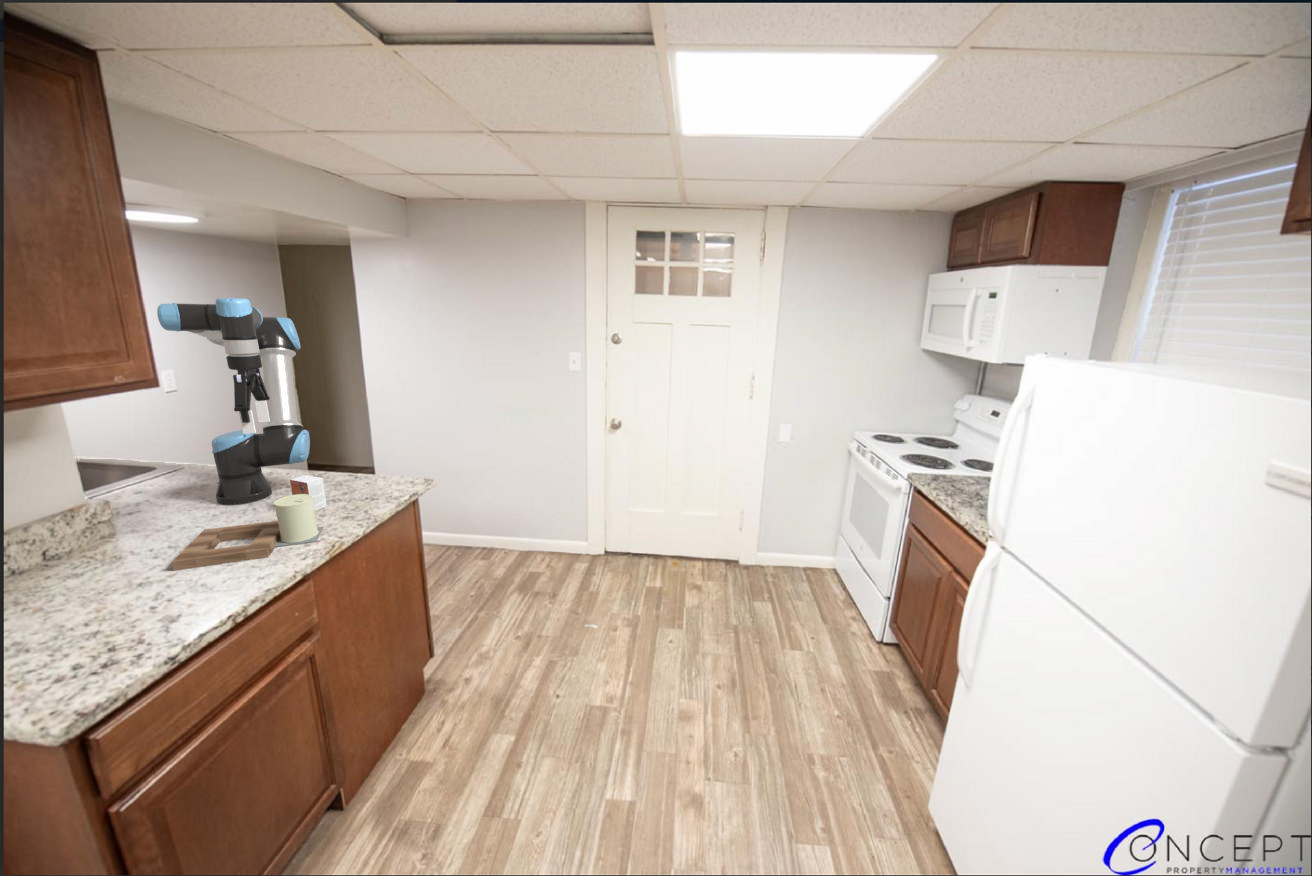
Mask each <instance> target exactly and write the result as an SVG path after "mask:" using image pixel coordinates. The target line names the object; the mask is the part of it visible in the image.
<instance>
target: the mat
mask: <svg viewBox="0 0 1312 876" xmlns="http://www.w3.org/2000/svg"><path fill="white" fill-rule="evenodd" d="M324 528H325V527H324V526H319V527H318V526H317V529H318V531H319V533H318V534H317V535H316V536H315V537H313V538H311V539H309V540H306V541H302V542H297V543H284V542H282V541H281V537H280V539H279V540H278V542H277V543H276V545H275V548H281V547H289V546H296V545H304V544H310V543H317V542H318V540H319V538H320V536H321V533H322V532H323V530H324Z"/></svg>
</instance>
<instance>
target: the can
mask: <svg viewBox="0 0 1312 876" xmlns="http://www.w3.org/2000/svg"><path fill="white" fill-rule="evenodd" d="M273 505H274V508H275V509H274V510H275V515H276V519H277V521H278V525H279V530H280V536H281V541H282V542H284V543H297V542H302V541H306V540H309V539H311V538H313V537H315V536H316V535H317V534H318V533H319V531H318V529H317V527H318V525H317V519H316V518H317V517H316V514H315V512H316V511H314V506H313V499H312V496H311V495H308V494H297V495H292V494H291V495H286V496H284V497H280V498H278V499H277V500H275V501H274V502H273Z"/></svg>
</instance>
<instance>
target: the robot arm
mask: <svg viewBox="0 0 1312 876" xmlns="http://www.w3.org/2000/svg"><path fill="white" fill-rule="evenodd" d="M156 312H157V319H158V322H159V325H160V327H162V328H163V330H165V331H170V332H171V331H172V332H189V333H191V334H195V335H199V336H200V337H204V338H206V340H208V341H210V342H211V343H212V344H215V345H218V346H221V347H224V351H225V354H226V355H227V356H226V362H227V367H228V369H229V370H232V371H233V370H235V371H237V374H233V376H232V378H233V387H234V388H233V389H234V394H233V395H234V408H233V410H234V412H238V414H239V419H240V423H241V429H240V430H235V431H231V432H226V433H223V434H220V435H218V436H216V437H214V438H213V439H212V440H211V447H212V448H211V449H212V452H211V453H212V455H213V459H214V462H215V463H214V464H215V469H216V470H217V471H216V472H217V476H218V483H217V488H216V493H215V498H216V503H217V504H219V505H223V506H234V505H235V506H236V505H242V504H243V505H244V504H249V503H250V504H251V503H254V502H257V501H261V500H263V499H266V498H268V497H269V496H271V495H272V494H273V489H272V486H271V484H270V482H269V481H268V480H267V478H266V477H265V475H264V474H263V470H262V468H263V467H265V468H266V467H273V466H274V467H275V466H281V465H282V466H283V465H293V464H299V463H300V464H301V463H304V462H306V461H307V459H308V458H309V455H310V449H311V448H310V446H311V445H310V444H311V439H310V432H309V430H307V429H304V425H303V424H301V423H300V422H299V421H298V413H297V412H298V411H297V401H296V393H295V392H296V391H295V384H294V374H293V373H294V371H293V364H292V363H293V362H292V361H293V360H292V359H293V358H294V357H296V356H297V355H296V354H297V351H298V350H300V349H301V348H302V347H301V343H300V337H299V335H298V332H297V329H296V327H295V324H294V322H293V320H292V319H291V318H289V317H283V316H282V317H280V316H275V317H274V316H263V314H262V312H261V311H260V310H259V309H258V308H257V307H255V306H253V305H252V304H251V301H250V300H249V299H248V298H242V297H241V298H240V297H239V298H238V297H217V298H216V299H215V303H209V304H208V303H206V304H205V303H202V304H201V303H176V302H172V303H171V302H170V303H160V304H159V305H158V307H157V310H156ZM261 368H262V374H263V377H262V376H261V375H262V374H261V372H260V369H261ZM252 396H253V397H254V400H255V401H254V406H255V410H256V416H257V420H258V423H266V424H265V425H264V426H263V427H262V433H257V431H256V425H255V421H254V415H253V410H252V409H251V400H252Z"/></svg>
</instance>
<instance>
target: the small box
mask: <svg viewBox="0 0 1312 876" xmlns="http://www.w3.org/2000/svg"><path fill="white" fill-rule="evenodd" d="M289 483H290V488H291V493H292V494H291V495H297V494H308V495H311V496H312V499H313V506H314V512H316V511H318V510H321V509H324V508H327V506H328V505H327V499H326V491H325V484H324V478H323V477H319V476H312V475H308V474H305V475H300V476H297V477H295V478H291V479H289Z"/></svg>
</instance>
